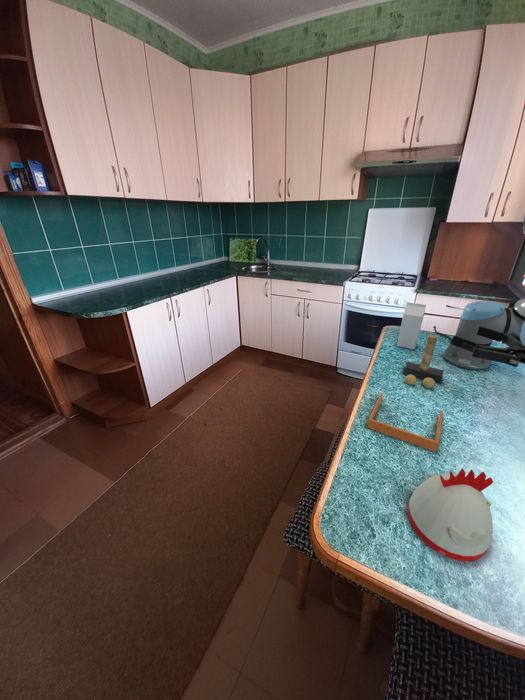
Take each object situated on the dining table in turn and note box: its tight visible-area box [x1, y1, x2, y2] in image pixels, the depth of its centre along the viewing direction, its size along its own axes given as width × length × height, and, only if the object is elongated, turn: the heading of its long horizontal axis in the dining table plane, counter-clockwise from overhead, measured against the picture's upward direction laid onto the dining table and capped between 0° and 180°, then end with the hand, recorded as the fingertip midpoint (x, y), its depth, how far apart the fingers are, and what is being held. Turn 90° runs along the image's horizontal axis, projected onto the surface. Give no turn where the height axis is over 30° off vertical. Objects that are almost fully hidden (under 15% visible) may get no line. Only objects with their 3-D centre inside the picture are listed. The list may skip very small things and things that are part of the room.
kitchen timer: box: [406, 467, 494, 562], centre depth 54 cm, size 14×14×15 cm
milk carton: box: [396, 301, 427, 350], centre depth 123 cm, size 7×7×19 cm
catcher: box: [366, 392, 444, 453], centre depth 83 cm, size 15×17×3 cm
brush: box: [402, 333, 444, 385], centre depth 102 cm, size 5×12×16 cm, turn 57°
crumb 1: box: [404, 375, 417, 386], centre depth 100 cm, size 4×4×4 cm
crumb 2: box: [422, 378, 436, 389], centre depth 98 cm, size 4×4×4 cm
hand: (466, 334), depth 89 cm, fingers open, 13 cm apart
